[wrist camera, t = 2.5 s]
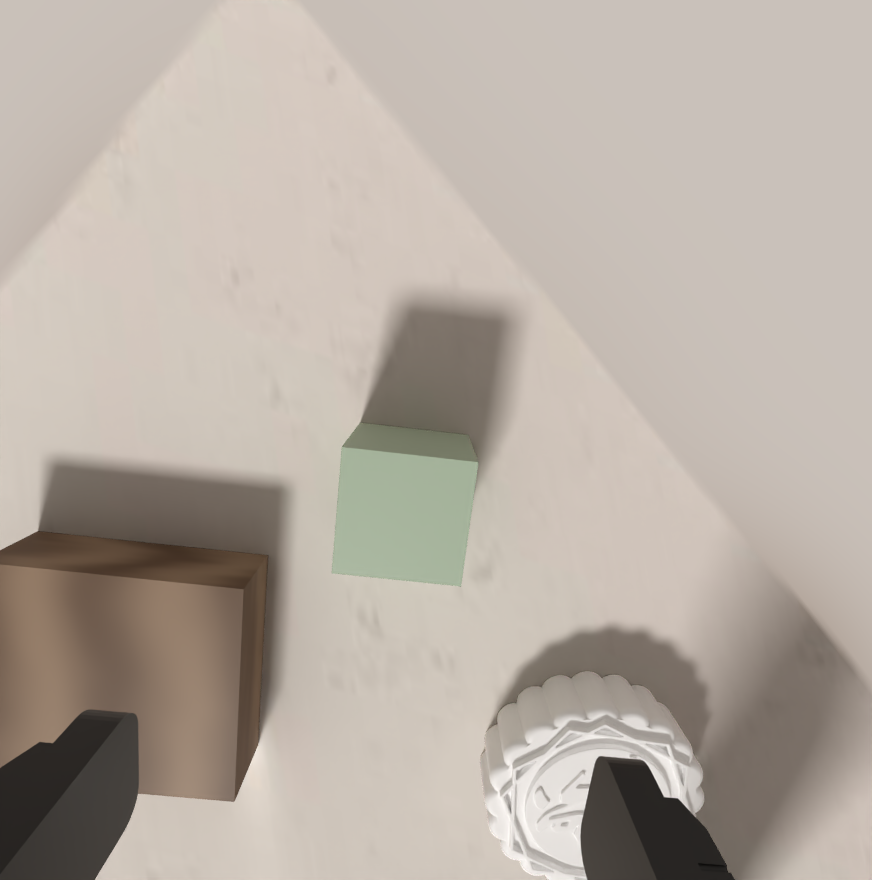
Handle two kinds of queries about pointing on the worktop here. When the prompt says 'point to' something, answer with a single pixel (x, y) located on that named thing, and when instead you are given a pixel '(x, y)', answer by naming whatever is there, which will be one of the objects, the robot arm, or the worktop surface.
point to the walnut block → (136, 653)
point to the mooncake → (574, 763)
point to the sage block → (404, 504)
